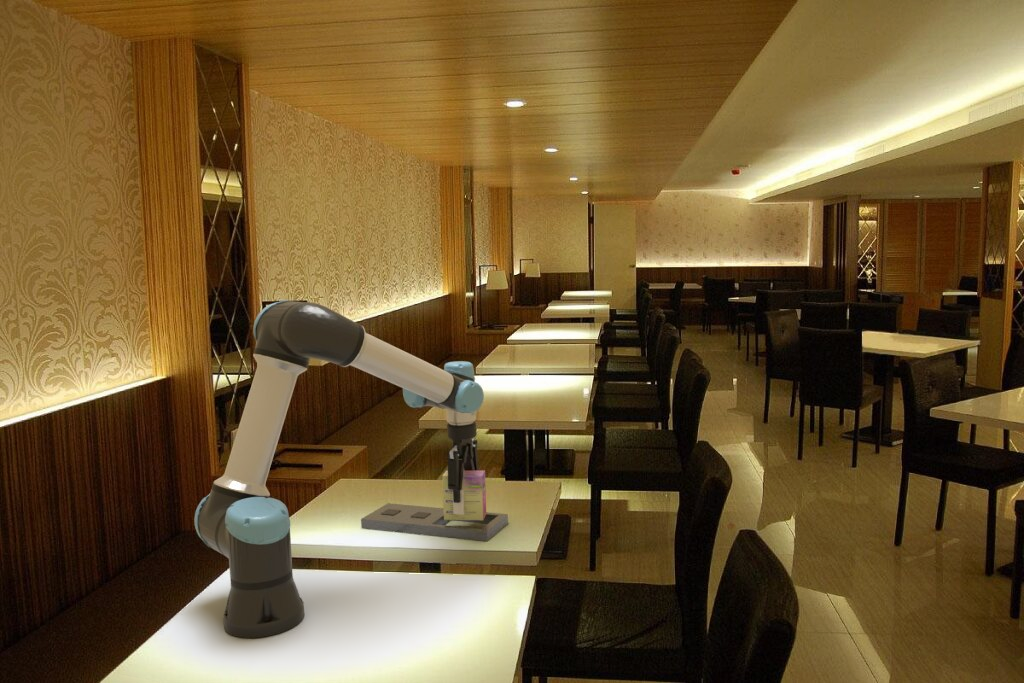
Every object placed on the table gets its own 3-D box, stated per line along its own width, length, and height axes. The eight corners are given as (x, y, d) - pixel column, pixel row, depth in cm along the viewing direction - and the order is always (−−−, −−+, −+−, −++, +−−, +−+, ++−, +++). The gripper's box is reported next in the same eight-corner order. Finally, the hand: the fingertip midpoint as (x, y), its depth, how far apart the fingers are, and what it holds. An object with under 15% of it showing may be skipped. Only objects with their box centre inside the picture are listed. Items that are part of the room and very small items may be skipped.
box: (486, 513, 209) (485, 469, 207) (483, 520, 203) (481, 475, 202) (447, 513, 210) (445, 469, 209) (443, 520, 204) (441, 475, 203)
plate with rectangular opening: (487, 541, 197) (486, 531, 197) (361, 528, 210) (361, 518, 210) (508, 523, 210) (507, 513, 210) (388, 511, 223) (388, 502, 223)
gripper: (458, 431, 193) (462, 523, 196) (489, 415, 212) (493, 499, 214) (430, 429, 196) (435, 520, 199) (464, 414, 214) (467, 497, 217)
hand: (465, 509), depth 206 cm, fingers closed on box, 7 cm apart
